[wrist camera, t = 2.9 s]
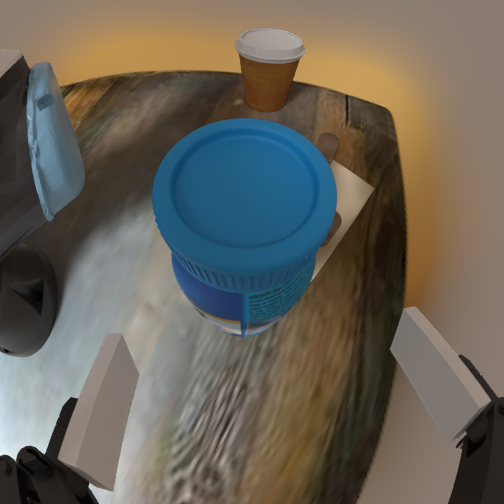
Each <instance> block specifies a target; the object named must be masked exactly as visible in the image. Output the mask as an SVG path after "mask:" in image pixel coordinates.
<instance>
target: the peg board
mask: <svg viewBox="0 0 504 504" xmlns="http://www.w3.org/2000/svg"><path fill="white" fill-rule="evenodd" d="M338 145H339V139H338V138H337V137H336V136H335V135H333V134H331V133H323V134H321V135H320V137H319V140H318V144H317V148H318V149H319V151H320V152H321V153H322V154H323V156H324V157H325V158H326V160H327V162H328V163H329V165H330V167H331V170H332V172H333V175H334V178H335V182H336V187H337V206H336V212H335V216H334V219H333V220H334V222H333V223H332V225H331V226H332V228H331V229H330V231H329V232H328V236H327V237H326V239H325V241H324V242H323V244H322V245H321V247H320V248H319V250H318V251H317V252H316V264H315V269H314V273H313V276H312V279H311V281H312V280H313V279H314V278H315V276H316V275H317V273H318V272H319V271H320V269H321V268H322V266H323V265H324V264H325V262H326V261H327V259H328V258H329V257H330V255H331V254H332V252H333V251H334V249H335V248H336V246H337V245H338V244H339V242H340V241H341V239H342V238H343V236H344V235H345V233H346V232H347V230H348V229H349V227H350V226H351V224H352V223H353V221H354V220H355V218H356V217H357V215H358V214H359V212H360V211H361V209H362V207H363V206H364V204H365V203H366V201H367V200H368V198H369V196H370V195H371V193H372V192H373V190H374V188H373V187H372V186H370V185H369V184H368V183H366V182H365V181H364V180H362V179H361V178H359V177H358V176H356V175H355V174H354V173H352V172H351V171H349V170H348V169H346V168H345V167H343V166H342V165H340V164H339V163H337V162H336V161H334V160H333V157H334V155H335V152H336V150H337V148H338ZM311 281H310V282H311Z"/></svg>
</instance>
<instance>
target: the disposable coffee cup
mask: <svg viewBox="0 0 504 504" xmlns="http://www.w3.org/2000/svg"><path fill="white" fill-rule="evenodd" d="M235 47H236V49H237V50H238V52H239V57H240V63H241V71H242V77H243V84H244V91H245V98H246V103H247V104H248V106H250V107H251V108H253V109H255V110H258V111H262V112H273V111H277V110H279V109H281V108H282V107H283V106H284V105H285V102H286V99H287V96H288V93H289V90H290V87H291V84H292V81H293V77H294V75H295V72H296V69H297V66H298V63H299V60H300V58H301V57H302V55H303V54H304V52H305V48H304V46H303V41H302V39H300V37H298V36H297V35H295V34H293V33H291V32H288V31H285V30H280V29H274V28H256V29H250V30H247V31H244V32H243V33H241V34H240V35H239V38H238V40H237V41H236V43H235Z"/></svg>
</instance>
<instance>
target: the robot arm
mask: <svg viewBox="0 0 504 504" xmlns="http://www.w3.org/2000/svg"><path fill="white" fill-rule="evenodd" d="M84 181H85V170H84V165H83V161H82V157H81V154H80V151H79V147H78V144H77V141H76V138H75V134H74V131H73V128H72V125H71V122H70V119H69V116H68V112H67V109H66V106H65V103H64V100H63V97H62V94H61V91H60V88H59V85H58V82H57V79H56V77H55V75H54V72H53V69H52V66H51V65H50V63H48V62H42V63H36V64H35V65H33V66H32V68H31V69H30V68H29V67H28V65H27V63H26V61H25V59H24V57H23V54H22V52H21V51H15V50H1V49H0V351H1V352H2V353H4V354H7V355H10V356H16V357H27V356H30V355H32V354H34V353H35V352H37V351H38V350H39V349H40V348H41V347H42V345H43V344H44V342H45V341H46V339H47V337H48V335H49V333H50V330H51V328H52V324H53V321H54V317H55V311H56V300H57V291H56V282H55V277H54V273H53V270H52V267H51V265H50V263H49V261H48V260H47V258H46V257H45V256H44V255H43V254H42V253H41V252H39V251H37V250H36V249H34V248H33V247H31V246H29V245H27V244H22V242H23V241H24V240H25V239H26V238H28V237H29V236H30V235H31V234H32V233H33V232H35V231H36V230H37V229H38V228H39V227H41V226H42V225H43V224H44V223H45V222H47V221H49V222H50V221H52V220H53V219H54V216H55V214H56V213H57V212H59V211H60V210H61V209H62V208H63V207H65V206H66V205H67V204H68V203H70V202H71V201H72V200H73V199H75V198H76V197H77V196H78V194H79V193H80V192H81V190H82V188H83V185H84ZM390 350H391V352H392V354H393V355H394V357H395V358H396V360H397V361H398V363H399V365H400V366H401V368H402V369H403V371H404V373H405V374H406V376H407V377H408V379H409V381H410V382H411V384H412V386H413V387H414V389H415V391H416V392H417V394H418V395H419V397H420V399H421V401H422V402H423V404H424V406H425V408H426V409H427V411H428V413H429V415H430V416H431V418H432V420H433V422H434V423H435V425H436V427H437V429H438V431H439V433H440V434H441V436H442V438H443V440H444V442H445V444H446V445H447V444H449V443H451V442H452V441H454V440H456V439H457V438H459V437H460V436H461V435H462V434H463V433H464V431H466V433H467V434H466V435H465V436H464V437H463V438H462V439H461V440H460V441H459V443H458V444H457V446H456V448H458V447H459V446H460V445H461V444H462V443H463V445H462V446H461V449H462V454H461V459H460V463H459V467H458V472H457V476H456V480H455V483H454V487H453V490H452V493H451V497H450V500H449V503H448V504H504V397H500V398H498V397H497V396H496V394H495V393H494V392H493V390H492V389H491V388H490V386H489V385H488V384H487V382H486V381H485V380H484V378H483V377H482V376H481V375H480V373H479V372H478V370H477V369H475V367H474V365H473V364H472V363H471V362H470V360H468V359H467V358H465V357H464V356H463V355H459V356H458V355H457V354H456V353H455V352H454V351H453V349H452V348H451V347H450V346H449V344H448V343H447V342H446V341H445V340H444V338H443V337H442V336H441V335H440V334H439V333H438V331H437V330H436V329H435V328H434V327H433V326H432V324H431V323H430V322H429V321H428V320H427V319H426V318H425V316H424V315H423V314H422V313H421V312H420V311H419V310H418V309H417V308H416V307H415V306H414V307H409V308H404V309H403V312H402V315H401V318H400V322H399V325H398V328H397V331H396V334H395V337H394V340H393V342H392V345H391V348H390ZM138 377H139V372H138V370H137V368H136V366H135V364H134V361H133V359H132V357H131V354H130V352H129V350H128V347H127V345H126V342H125V340H124V337H123V335H122V334H112V333H108V334H107V336H106V338H105V340H104V342H103V344H102V346H101V348H100V350H99V353H98V355H97V357H96V359H95V361H94V364H93V366H92V368H91V370H90V373H89V375H88V377H87V380H86V382H85V384H84V387H83V389H82V392H81V394H80V396H79V399H78V398H72V397H71V398H70V399H69V400H68V401H67V402H66V403H65V404H64V405H63V407H62V410H61V412H60V415H59V416H60V417H59V418H58V420H57V422H56V426H55V428H54V430H53V433H52V436H51V439H50V441H49V444H48V447H47V450H46V453H45V455H44V454H43V453H42V452H40V451H39V450H38V449H37V448H36V447H33V446H25V447H24V448H22V449H21V450H20V451H19V453H18V455H17V459H16V461H17V462H16V461H15V460H14V459H13V458H11V457H10V456H8V455H2V456H0V504H99V503H98V502H97V500H96V498H95V496H94V495H93V493H92V491H91V490H90V489H89V488H88V486H89V483H91V484H92V485H94V486H96V487H98V488H102V489H105V490H109V491H113V490H114V484H115V478H116V472H117V467H118V462H119V457H120V452H121V447H122V442H123V437H124V433H125V429H126V424H127V420H128V416H129V412H130V408H131V404H132V400H133V396H134V392H135V388H136V385H137V381H138ZM27 497H28V498H27Z"/></svg>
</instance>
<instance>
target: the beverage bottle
mask: <svg viewBox="0 0 504 504" xmlns="http://www.w3.org/2000/svg"><path fill="white" fill-rule="evenodd" d="M152 202H153V209H154V215H155V217H156V219H155V221H156V223H157V224H158V226H157V227H158V228H159V230H160V232H161V235H162V237H163V238H164V240H165V242H166V243H167V245H168V246H169V248H170V249H171V251H172V265H173V270H174V274H175V277H176V279H177V282H178V284H179V286H180V288H181V290H182V291H183V293H184V294H185V295H186V297H187V298H188V300H189V301H190V303H191V304H192V305H193V307H194V308H195V309H196V310H197V311H198V312H199V313H200V314H201V315H202V316H203V317H205V318H206V319H207V320H209V321H211V322H212V323H213V324H214V325H215V326H216V327H218V328H219V329H220V330H222V331H224V332H226V333H228V334H231V335H234V336H241V337H246V336H253V335H257V334H259V333H262V332H263V331H265V330H267V329H268V328H269V327H271V326H272V325H273V324H274V323H275V322H277V321H279V320H280V319H282V318H283V317H284V316H285V315H287V314H288V313H289V312H290V311H291V310H292V309H293V307H294V306H295V305H296V303H297V302H298V300H299V299H300V298H301V297H302V295H303V294H304V292H305V291H306V289H307V288H308V286H309V284H310V281H311V279H312V276H313V273H314V269H315V264H316V252H317V251H318V250H319V248H320V247H321V245H322V244H323V242H324V241H325V239H326V237H327V236H328V232H329V231H330V229H331V228H332V226H331V225H332V223H333V222H334V220H333V219H334V216H335V212H336V206H337V187H336V182H335V178H334V175H333V172H332V170H331V167H330V165H329V163H328V162H327V160H326V158H325V157H324V156H323V154H322V153H321V152H320V151H319V149H318V148H317V147H316V146H315V145H314V144H313V143H312V142H310V141H309V140H308V139H307V138H305V137H304V136H303V135H301V134H300V133H298V132H296V131H294V130H292V129H290V128H288V127H286V126H284V125H281V124H278V123H275V122H271V121H267V120H262V119H253V118H236V119H227V120H222V121H218V122H214V123H211V124H208V125H205V126H203V127H201V128H199V129H197V130H195V131H193V132H191V133H190V134H188V135H187V136H185V137H184V138H182V139H181V140H180V141H179V142H178V143H176V144H175V145H174V146H173V147H172V148H171V150H170V151H169V152H168V153H167V155H166V156H165V157H164V159H163V160H162V162H161V164H160V166H159V168H158V170H157V173H156V176H155V179H154V184H153V191H152Z"/></svg>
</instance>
